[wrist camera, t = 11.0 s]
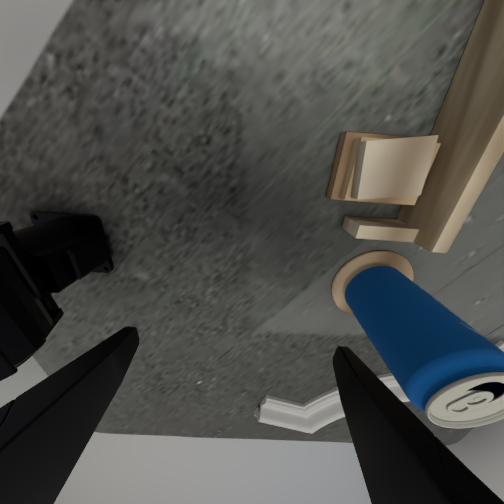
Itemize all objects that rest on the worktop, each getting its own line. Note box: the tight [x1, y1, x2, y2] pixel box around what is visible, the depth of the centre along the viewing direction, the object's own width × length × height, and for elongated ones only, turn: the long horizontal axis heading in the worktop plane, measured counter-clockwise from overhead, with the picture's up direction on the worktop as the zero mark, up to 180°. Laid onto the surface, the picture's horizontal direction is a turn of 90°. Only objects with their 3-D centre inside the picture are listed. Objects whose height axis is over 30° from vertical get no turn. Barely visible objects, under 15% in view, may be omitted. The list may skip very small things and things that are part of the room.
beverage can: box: [345, 266, 504, 428], centre depth 17 cm, size 6×6×12 cm
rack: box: [342, 0, 504, 253], centre depth 14 cm, size 6×18×5 cm, turn 176°
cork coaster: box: [331, 250, 413, 315], centre depth 23 cm, size 9×9×1 cm
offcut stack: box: [326, 132, 441, 205], centre depth 16 cm, size 7×5×4 cm
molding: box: [254, 340, 504, 434], centre depth 31 cm, size 42×12×3 cm, turn 113°
